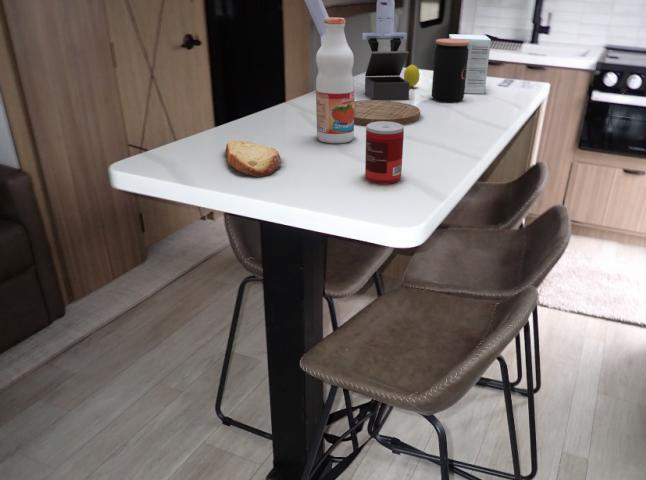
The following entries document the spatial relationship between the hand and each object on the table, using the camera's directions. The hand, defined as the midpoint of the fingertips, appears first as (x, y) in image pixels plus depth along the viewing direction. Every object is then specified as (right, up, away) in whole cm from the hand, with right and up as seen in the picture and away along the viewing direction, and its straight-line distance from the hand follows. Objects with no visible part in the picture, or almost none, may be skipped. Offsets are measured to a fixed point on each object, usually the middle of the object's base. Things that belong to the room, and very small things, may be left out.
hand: (383, 63), depth 197 cm
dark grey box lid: (+1, -2, -3) cm, 3 cm away
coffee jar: (+21, -13, -1) cm, 25 cm away
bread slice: (-32, -48, -64) cm, 86 cm away
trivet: (-3, -25, -23) cm, 34 cm away
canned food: (-2, -53, -72) cm, 89 cm away
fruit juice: (-14, -38, -46) cm, 61 cm away
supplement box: (+29, -4, +14) cm, 33 cm away
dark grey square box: (+1, -11, +1) cm, 11 cm away
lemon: (+10, -3, +16) cm, 19 cm away
